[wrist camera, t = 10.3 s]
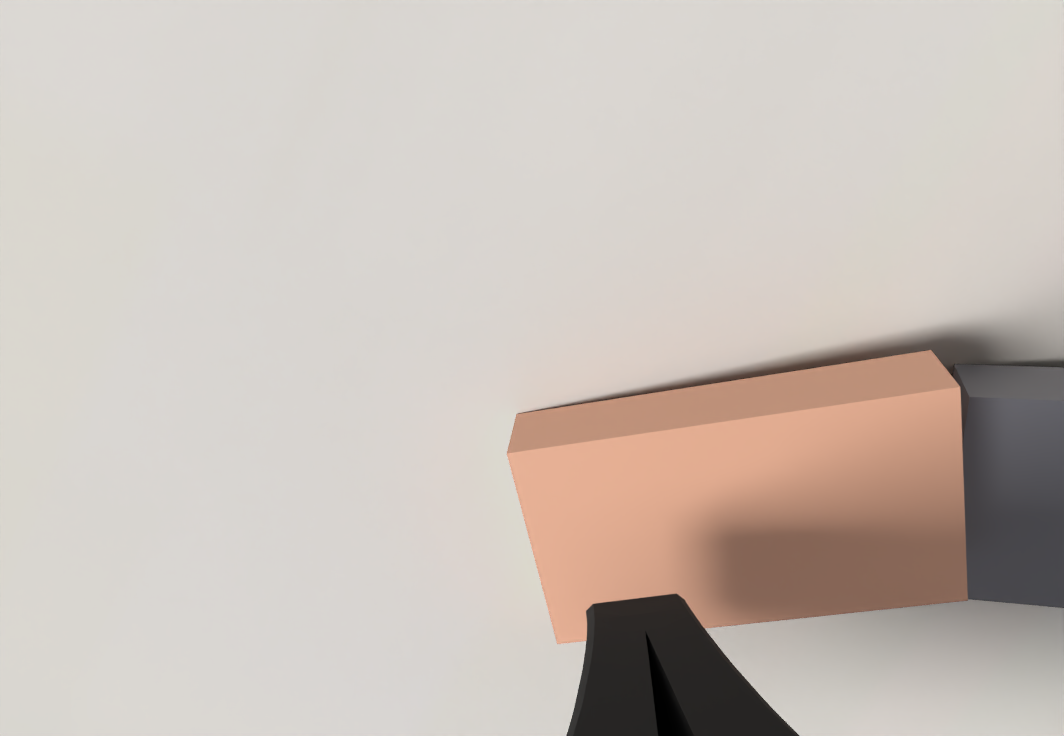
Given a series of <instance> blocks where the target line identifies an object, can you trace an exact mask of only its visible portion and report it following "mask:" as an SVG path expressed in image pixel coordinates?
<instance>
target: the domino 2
mask: <svg viewBox="0 0 1064 736" xmlns="http://www.w3.org/2000/svg"><path fill="white" fill-rule="evenodd" d="M953 378H954V379H955V381H956V382H957V383H958V385H959V386H960V390H961V419H962V448H963V477H964V506H965V535H966V563H967V592H968V599H973V600H984V601H995V602H1006V603H1016V604H1027V605H1038V606H1049V607H1060V608H1064V367H1033V366H1001V365H969V364H954V370H953Z"/></svg>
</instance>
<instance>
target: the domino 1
mask: <svg viewBox="0 0 1064 736" xmlns="http://www.w3.org/2000/svg"><path fill="white" fill-rule="evenodd" d="M507 456H508V460H509V463H510V467H511V471H512V475H513V479H514V482H515V486H516V490H517V494H518V497H519V501H520V505H521V509H522V512H523V516H524V520H525V524H526V527H527V531H528V535H529V539H530V543H531V546H532V550H533V554H534V558H535V561H536V565H537V569H538V573H539V576H540V580H541V584H542V588H543V592H544V595H545V599H546V603H547V607H548V610H549V614H550V618H551V622H552V625H553V629H554V633H555V637H556V640H557V644H561V643H571V642H580V641H587V617H586V610H587V609H588V608H589V607H590V606H591V605H592V604H595V603H603V602H611V601H619V600H627V599H635V598H644V597H652V596H660V595H668V594H676V593H677V594H678V595H679V596H681V597H682V598H683V599H685V601H686V603H687V604H688V606H689V607H690V609H691V610H692V612H693V613H694V615H695V616H696V618H697V619H698V620H699V622H700V623H701V625H702V626H703V627H704V628H712V627H722V626H731V625H741V624H750V623H760V622H769V621H779V620H788V619H797V618H807V617H816V616H826V615H835V614H845V613H854V612H864V611H873V610H883V609H892V608H901V607H911V606H920V605H930V604H939V603H949V602H958V601H968V592H967V563H966V535H965V506H964V477H963V448H962V419H961V390H960V386H959V385H958V383H957V382H956V381H955V379H954V378H953V377H952V376H951V374H950V373H949V372H948V371H947V369H946V368H945V367H944V366H943V364H942V363H941V362H940V361H939V359H938V358H937V357H936V355H935V354H934V353H933V352H932V350H928V351H921V352H915V353H908V354H902V355H895V356H889V357H883V358H876V359H870V360H863V361H857V362H850V363H844V364H837V365H831V366H824V367H818V368H811V369H805V370H798V371H792V372H786V373H779V374H773V375H766V376H760V377H753V378H747V379H740V380H734V381H727V382H721V383H714V384H708V385H701V386H695V387H689V388H682V389H676V390H669V391H663V392H656V393H650V394H643V395H637V396H630V397H624V398H617V399H611V400H604V401H598V402H591V403H585V404H579V405H572V406H566V407H559V408H553V409H546V410H540V411H533V412H527V413H520V414H517V415H516V419H515V423H514V427H513V431H512V435H511V439H510V443H509V447H508V451H507Z"/></svg>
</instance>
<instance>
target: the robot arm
mask: <svg viewBox="0 0 1064 736" xmlns="http://www.w3.org/2000/svg"><path fill="white" fill-rule="evenodd" d="M586 617H587V641H586V650H585V657H584V664H583V671H582V676H581V680H580V685H579V689H578V694H577V698H576V703H575V708H574V712H573V715H572V719H571V723H570V726H569V729H568V732H567V736H799V735H798V734H797V733H796V732H795V731H794V730H793V729H792V728H791V727H790V726H789V725H788V724H787V723H786V722H785V721H784V720H783V719H782V718H781V717H780V716H779V715H778V714H777V713H776V712H775V711H774V710H773V709H772V708H771V707H770V705H769V704H768V703H767V702H766V701H765V700H764V699H763V698H762V697H761V696H760V695H759V694H758V692H757V691H756V690H755V689H754V688H753V687H752V686H751V685H750V683H749V682H748V681H747V680H746V679H745V678H744V677H743V676H742V674H741V673H740V672H739V671H738V670H737V669H736V668H735V666H734V665H733V664H732V663H731V662H730V660H729V659H728V658H727V657H726V656H725V654H724V653H723V652H722V651H721V649H720V648H719V647H718V646H717V644H716V643H715V642H714V640H713V639H712V638H711V637H710V635H709V634H708V633H707V631H706V630H705V629H704V627H703V626H702V625H701V623H700V622H699V620H698V619H697V618H696V616H695V615H694V613H693V612H692V610H691V609H690V607H689V606H688V604H687V603H686V601H685V599H683V598H682V597H681V596H679V595H678V594H677V593H676V594H668V595H660V596H652V597H644V598H635V599H627V600H619V601H611V602H603V603H595V604H592V605H591V606H590V607H589V608H588V609H587V610H586Z"/></svg>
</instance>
